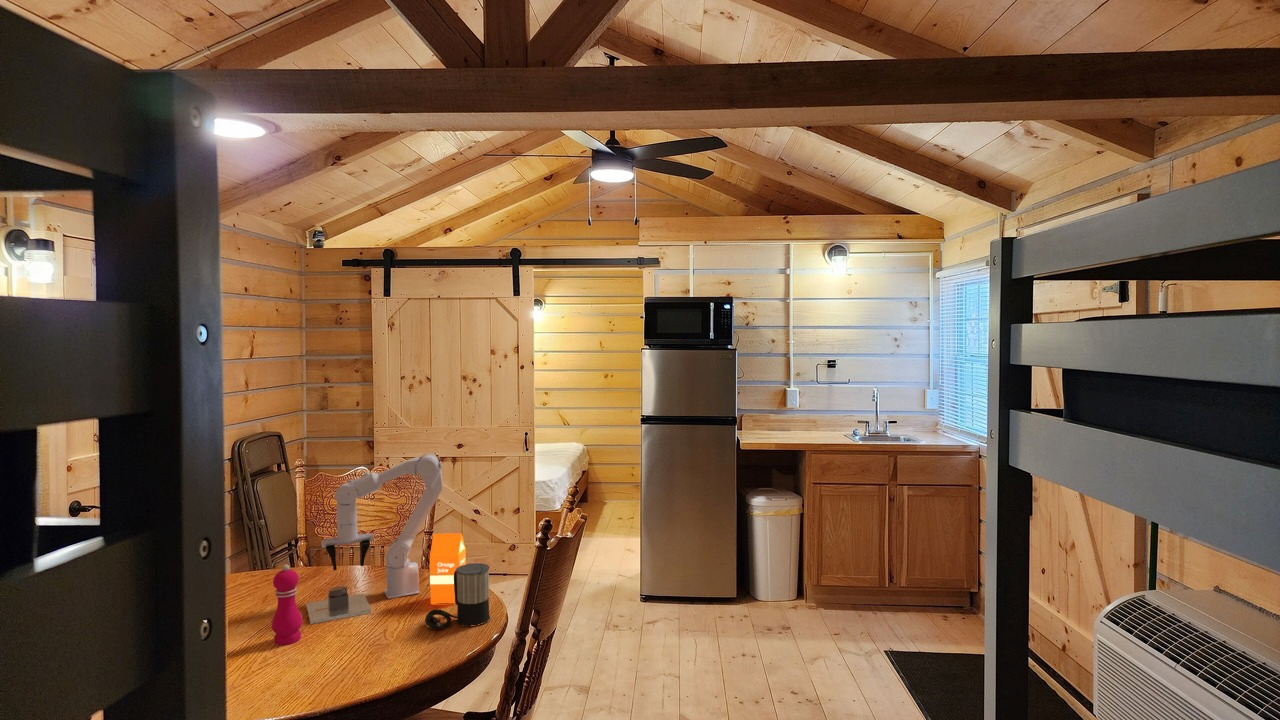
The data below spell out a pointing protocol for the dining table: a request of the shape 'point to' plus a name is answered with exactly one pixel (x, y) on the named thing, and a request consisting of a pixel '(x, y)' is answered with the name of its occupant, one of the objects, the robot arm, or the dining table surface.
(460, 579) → the milk frother
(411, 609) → the dining table surface
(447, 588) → the orange juice
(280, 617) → the pepper mill
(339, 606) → the knob
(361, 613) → the flat square panel
